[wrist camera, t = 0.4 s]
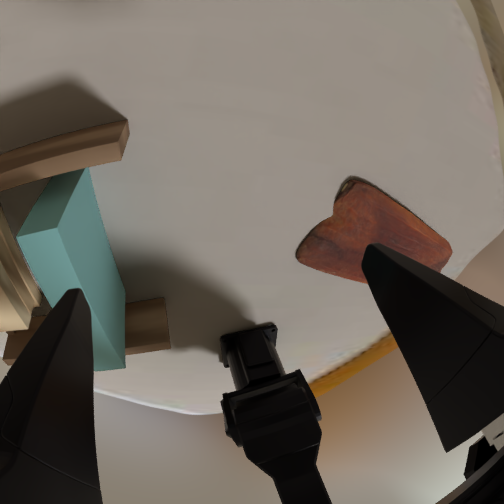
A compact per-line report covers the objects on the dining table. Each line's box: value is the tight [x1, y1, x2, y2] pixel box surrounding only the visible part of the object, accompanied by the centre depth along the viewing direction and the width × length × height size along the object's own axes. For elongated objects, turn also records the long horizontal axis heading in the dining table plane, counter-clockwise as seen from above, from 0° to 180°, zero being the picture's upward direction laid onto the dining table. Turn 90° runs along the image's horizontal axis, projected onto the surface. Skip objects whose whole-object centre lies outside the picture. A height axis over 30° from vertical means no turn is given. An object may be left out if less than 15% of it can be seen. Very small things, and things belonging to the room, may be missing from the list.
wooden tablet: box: [297, 180, 452, 284], centre depth 33 cm, size 27×10×2 cm, turn 60°
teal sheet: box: [16, 167, 126, 371], centre depth 18 cm, size 12×2×8 cm, turn 179°
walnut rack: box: [0, 120, 171, 365], centre depth 18 cm, size 17×17×5 cm
